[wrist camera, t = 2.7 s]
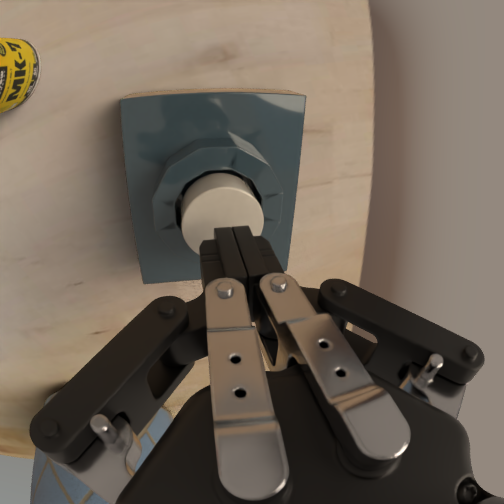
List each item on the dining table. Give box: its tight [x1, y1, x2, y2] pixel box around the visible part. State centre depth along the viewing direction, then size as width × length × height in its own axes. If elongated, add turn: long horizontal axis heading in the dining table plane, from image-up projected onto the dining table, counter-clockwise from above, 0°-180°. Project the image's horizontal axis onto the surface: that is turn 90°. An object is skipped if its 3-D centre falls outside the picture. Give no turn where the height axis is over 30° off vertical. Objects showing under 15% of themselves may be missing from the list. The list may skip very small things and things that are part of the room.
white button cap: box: [181, 173, 264, 255], centre depth 16 cm, size 4×4×2 cm
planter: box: [30, 391, 173, 504], centre depth 26 cm, size 19×19×20 cm
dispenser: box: [120, 88, 306, 284], centre depth 18 cm, size 12×10×5 cm
